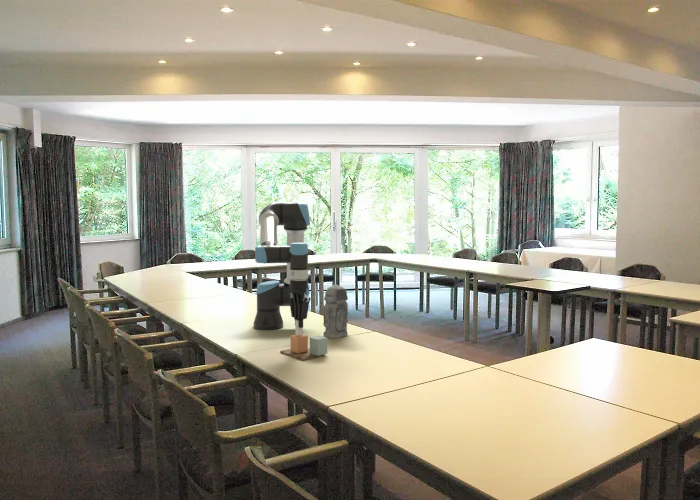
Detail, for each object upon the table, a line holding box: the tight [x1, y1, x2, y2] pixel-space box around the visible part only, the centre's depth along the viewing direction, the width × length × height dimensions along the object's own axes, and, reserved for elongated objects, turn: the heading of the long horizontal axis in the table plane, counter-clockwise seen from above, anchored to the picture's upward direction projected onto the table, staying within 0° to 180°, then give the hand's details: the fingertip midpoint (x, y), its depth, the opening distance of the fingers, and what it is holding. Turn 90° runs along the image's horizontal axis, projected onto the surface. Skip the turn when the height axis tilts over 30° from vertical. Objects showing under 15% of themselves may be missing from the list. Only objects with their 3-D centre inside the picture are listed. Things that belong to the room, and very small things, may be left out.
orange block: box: [289, 334, 309, 353], centre depth 235 cm, size 5×5×7 cm
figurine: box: [322, 283, 349, 339], centre depth 267 cm, size 10×14×25 cm
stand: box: [279, 348, 325, 362], centre depth 234 cm, size 16×11×1 cm
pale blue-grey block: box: [309, 335, 328, 356], centre depth 232 cm, size 5×5×7 cm
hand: (299, 334), depth 235 cm, fingers closed
